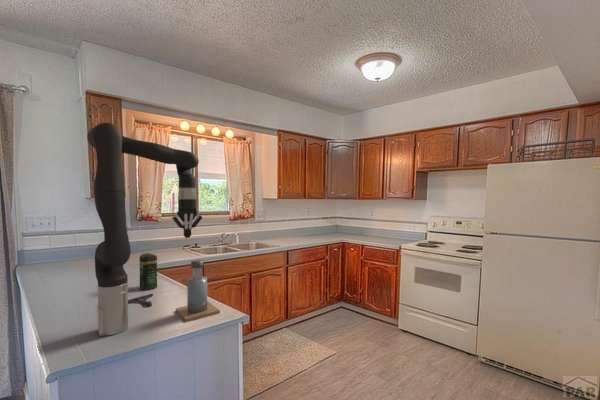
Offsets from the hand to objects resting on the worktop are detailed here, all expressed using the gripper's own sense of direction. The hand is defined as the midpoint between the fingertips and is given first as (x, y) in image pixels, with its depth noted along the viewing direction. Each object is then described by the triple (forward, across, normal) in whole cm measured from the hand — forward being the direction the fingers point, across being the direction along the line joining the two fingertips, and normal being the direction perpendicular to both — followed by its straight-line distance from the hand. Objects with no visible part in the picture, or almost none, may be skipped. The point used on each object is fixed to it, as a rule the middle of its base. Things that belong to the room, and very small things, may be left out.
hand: (187, 237), depth 127 cm
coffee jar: (+32, -8, +43) cm, 54 cm away
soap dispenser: (+31, +2, -7) cm, 32 cm away
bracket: (+32, -14, +20) cm, 40 cm away
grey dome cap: (+17, +2, -9) cm, 19 cm away
